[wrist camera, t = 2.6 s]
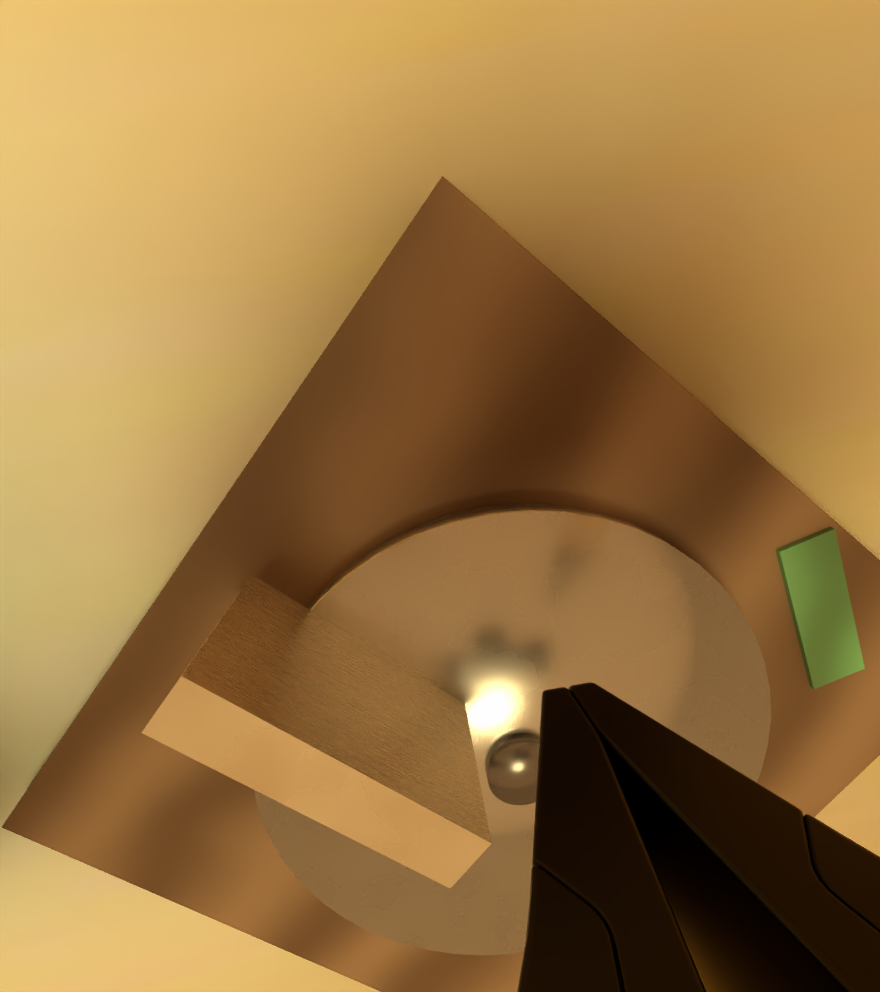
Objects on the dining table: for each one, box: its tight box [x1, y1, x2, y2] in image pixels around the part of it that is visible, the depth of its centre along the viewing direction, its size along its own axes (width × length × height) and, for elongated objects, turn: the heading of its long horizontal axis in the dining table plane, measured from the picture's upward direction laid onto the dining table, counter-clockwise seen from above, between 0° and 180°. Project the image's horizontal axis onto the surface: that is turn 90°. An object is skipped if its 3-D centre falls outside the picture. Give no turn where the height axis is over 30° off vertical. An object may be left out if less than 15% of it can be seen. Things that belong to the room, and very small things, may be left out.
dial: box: [142, 503, 771, 955], centre depth 15 cm, size 22×18×6 cm
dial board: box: [2, 176, 880, 992], centre depth 19 cm, size 26×26×2 cm
